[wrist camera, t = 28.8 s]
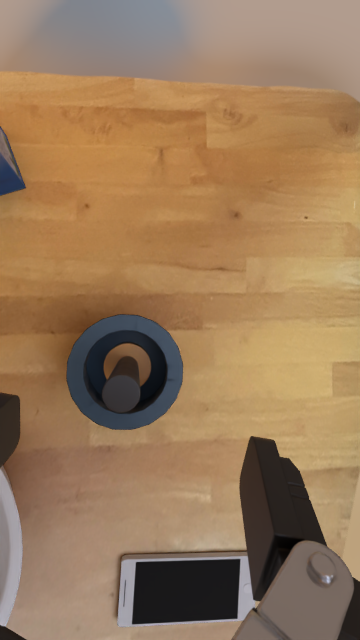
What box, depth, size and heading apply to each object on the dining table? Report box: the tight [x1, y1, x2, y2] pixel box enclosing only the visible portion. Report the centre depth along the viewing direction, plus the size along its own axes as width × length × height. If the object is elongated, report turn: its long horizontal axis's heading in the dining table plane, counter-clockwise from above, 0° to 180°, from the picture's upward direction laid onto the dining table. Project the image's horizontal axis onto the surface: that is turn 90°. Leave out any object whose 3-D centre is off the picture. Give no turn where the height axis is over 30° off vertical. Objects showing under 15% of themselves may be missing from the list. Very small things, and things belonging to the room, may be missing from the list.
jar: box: [66, 314, 183, 430], centre depth 33 cm, size 10×10×9 cm
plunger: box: [102, 342, 151, 413], centre depth 28 cm, size 5×5×18 cm
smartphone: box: [117, 552, 255, 627], centre depth 37 cm, size 7×16×1 cm, turn 86°
